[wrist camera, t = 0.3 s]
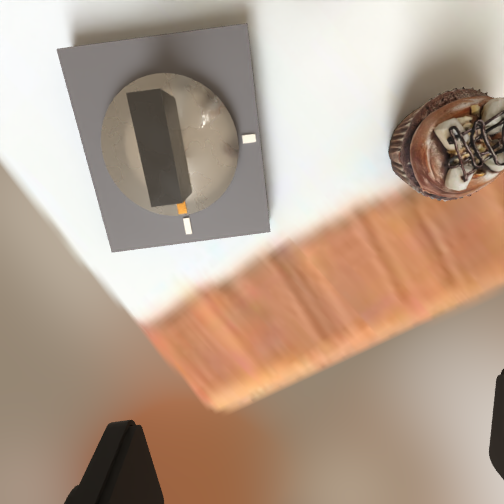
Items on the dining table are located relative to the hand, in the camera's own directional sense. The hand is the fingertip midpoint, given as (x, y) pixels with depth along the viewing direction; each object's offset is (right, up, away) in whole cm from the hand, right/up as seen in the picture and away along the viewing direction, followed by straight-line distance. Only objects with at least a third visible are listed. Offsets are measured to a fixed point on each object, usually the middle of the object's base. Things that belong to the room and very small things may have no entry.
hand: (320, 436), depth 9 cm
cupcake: (+16, +16, +26) cm, 34 cm away
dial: (-9, +14, +22) cm, 28 cm away
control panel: (-9, +15, +25) cm, 30 cm away
